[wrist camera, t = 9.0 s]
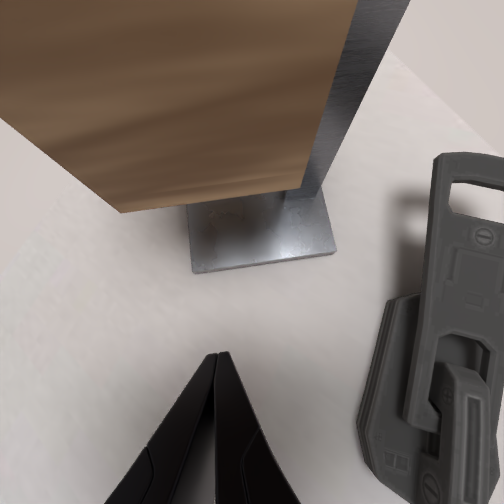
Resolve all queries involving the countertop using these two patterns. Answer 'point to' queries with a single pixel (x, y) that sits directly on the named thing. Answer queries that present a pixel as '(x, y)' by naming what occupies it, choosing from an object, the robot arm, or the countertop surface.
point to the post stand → (310, 192)
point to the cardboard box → (172, 92)
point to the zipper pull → (443, 355)
